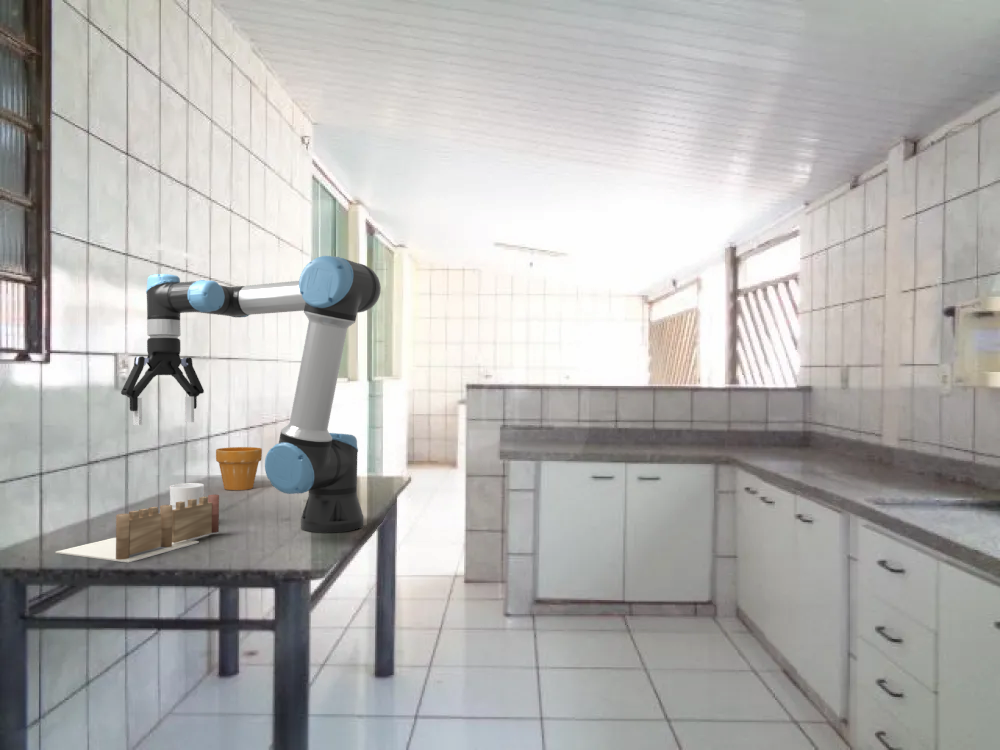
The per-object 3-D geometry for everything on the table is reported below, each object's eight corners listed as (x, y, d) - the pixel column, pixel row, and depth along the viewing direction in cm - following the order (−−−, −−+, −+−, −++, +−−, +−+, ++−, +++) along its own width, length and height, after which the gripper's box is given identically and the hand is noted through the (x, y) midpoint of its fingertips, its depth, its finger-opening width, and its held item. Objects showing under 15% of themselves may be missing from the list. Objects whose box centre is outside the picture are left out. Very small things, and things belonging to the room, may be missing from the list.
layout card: (199, 542, 164) (199, 540, 164) (128, 562, 147) (128, 560, 147) (130, 535, 171) (130, 533, 171) (55, 553, 154) (55, 551, 154)
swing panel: (221, 531, 173) (221, 494, 173) (177, 543, 161) (177, 503, 161) (212, 530, 174) (213, 494, 174) (168, 542, 162) (169, 503, 162)
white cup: (191, 530, 178) (191, 488, 178) (161, 528, 179) (162, 487, 179) (210, 523, 186) (210, 483, 186) (182, 522, 187) (182, 482, 187)
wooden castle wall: (174, 547, 160) (174, 504, 160) (121, 561, 147) (122, 515, 147) (165, 546, 161) (166, 503, 161) (112, 560, 148) (113, 514, 148)
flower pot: (228, 484, 251) (228, 446, 251) (268, 486, 249) (268, 447, 249) (207, 491, 237) (207, 450, 237) (250, 492, 235) (250, 451, 235)
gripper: (200, 340, 196) (201, 420, 196) (105, 336, 176) (105, 425, 175) (217, 339, 192) (218, 421, 191) (121, 334, 171) (122, 426, 171)
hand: (164, 423), depth 183 cm, fingers open, 13 cm apart
